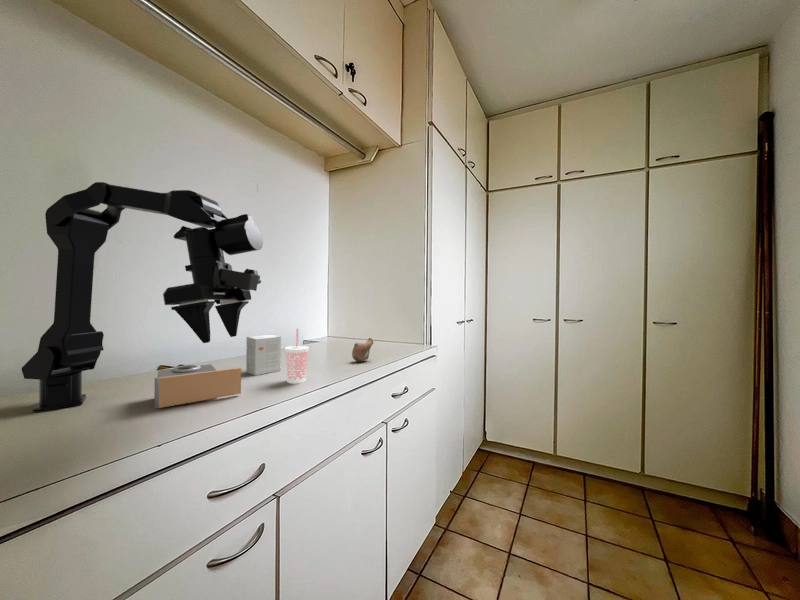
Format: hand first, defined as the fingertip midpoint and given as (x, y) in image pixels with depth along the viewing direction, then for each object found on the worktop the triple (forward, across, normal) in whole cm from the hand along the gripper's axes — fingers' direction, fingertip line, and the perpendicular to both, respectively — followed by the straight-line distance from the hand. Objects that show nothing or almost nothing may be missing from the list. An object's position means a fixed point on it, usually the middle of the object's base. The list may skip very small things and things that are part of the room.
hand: (221, 339), depth 59 cm
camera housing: (+12, +8, +14) cm, 20 cm away
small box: (+13, +32, +7) cm, 35 cm away
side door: (+12, +6, +10) cm, 17 cm away
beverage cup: (+15, +23, -5) cm, 28 cm away
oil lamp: (+18, +48, -20) cm, 55 cm away
